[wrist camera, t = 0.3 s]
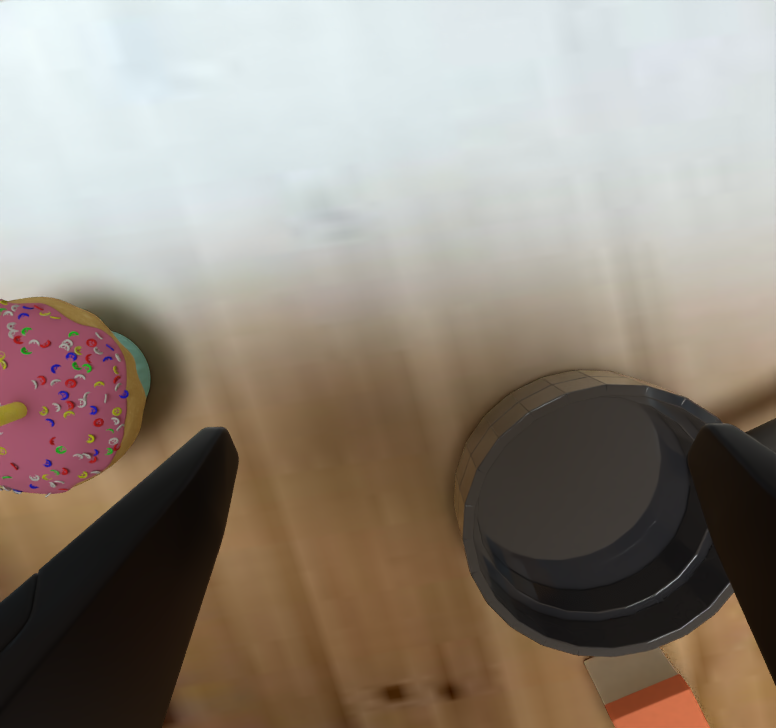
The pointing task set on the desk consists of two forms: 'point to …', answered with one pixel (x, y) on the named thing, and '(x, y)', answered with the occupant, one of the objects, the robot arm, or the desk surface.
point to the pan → (590, 515)
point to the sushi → (644, 691)
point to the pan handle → (765, 434)
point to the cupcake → (64, 395)
